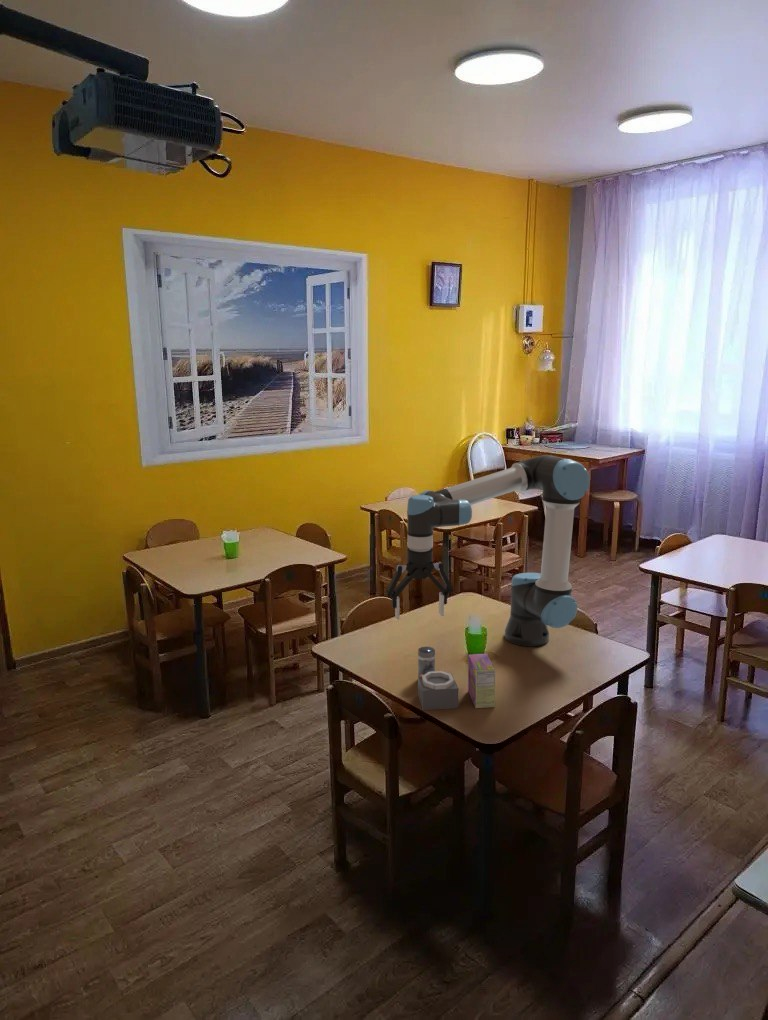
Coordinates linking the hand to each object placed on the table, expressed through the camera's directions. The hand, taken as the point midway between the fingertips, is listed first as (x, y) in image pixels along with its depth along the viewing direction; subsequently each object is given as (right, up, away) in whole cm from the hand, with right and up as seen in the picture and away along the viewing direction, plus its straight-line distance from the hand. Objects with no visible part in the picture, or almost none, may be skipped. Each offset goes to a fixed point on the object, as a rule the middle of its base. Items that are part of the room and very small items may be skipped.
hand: (419, 616), depth 207 cm
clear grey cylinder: (+2, -20, +2) cm, 20 cm away
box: (+17, -23, -9) cm, 30 cm away
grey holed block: (+5, -23, -10) cm, 25 cm away
